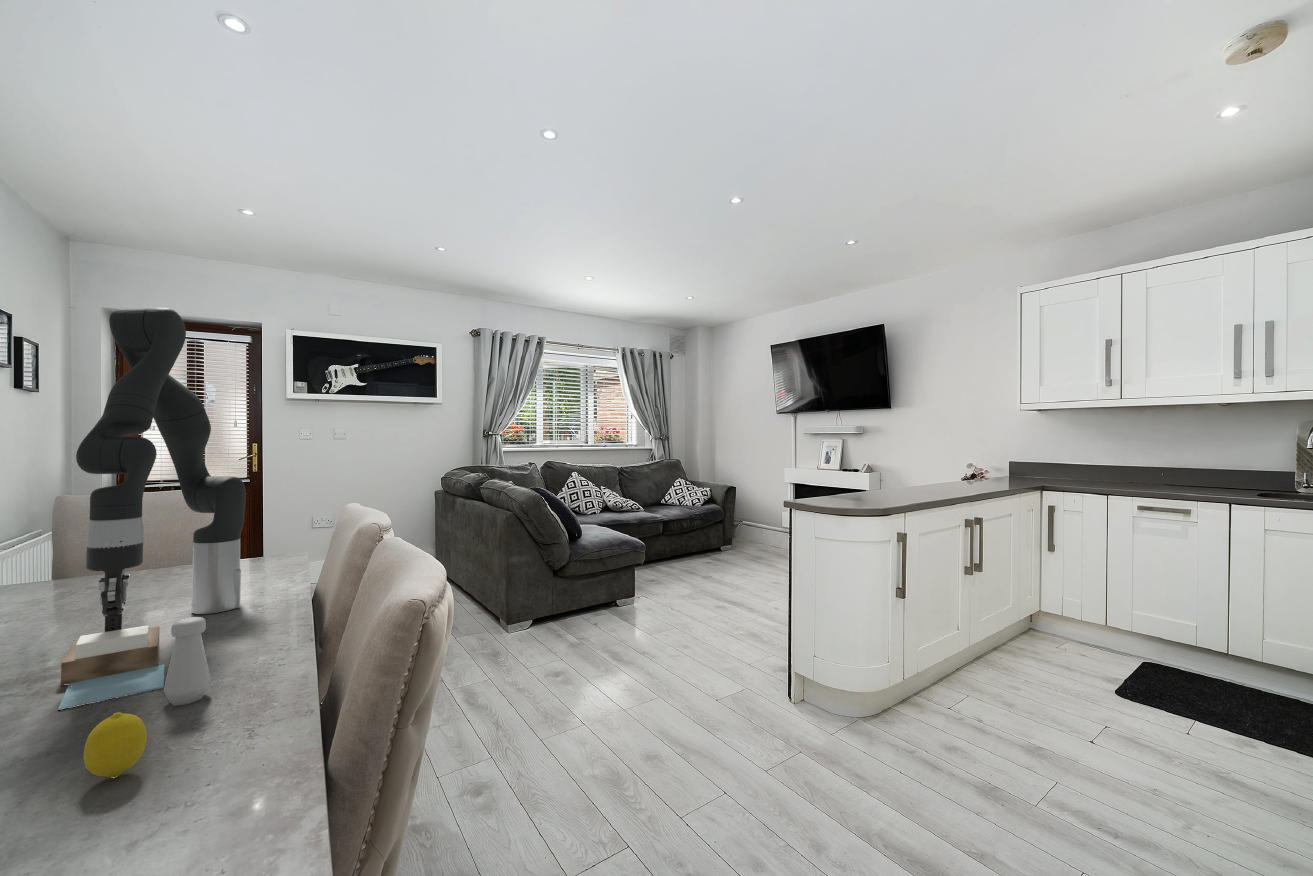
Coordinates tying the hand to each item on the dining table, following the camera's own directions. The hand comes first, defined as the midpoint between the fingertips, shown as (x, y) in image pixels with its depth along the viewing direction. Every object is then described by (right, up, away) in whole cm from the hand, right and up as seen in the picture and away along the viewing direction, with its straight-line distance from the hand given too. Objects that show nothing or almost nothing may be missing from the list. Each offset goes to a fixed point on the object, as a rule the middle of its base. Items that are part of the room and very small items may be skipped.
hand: (113, 634), depth 101 cm
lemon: (+35, -6, -34) cm, 49 cm away
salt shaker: (+26, -6, -14) cm, 30 cm away
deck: (+1, -6, -1) cm, 6 cm away
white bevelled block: (+3, -1, -3) cm, 5 cm away
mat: (+10, -5, -10) cm, 15 cm away
